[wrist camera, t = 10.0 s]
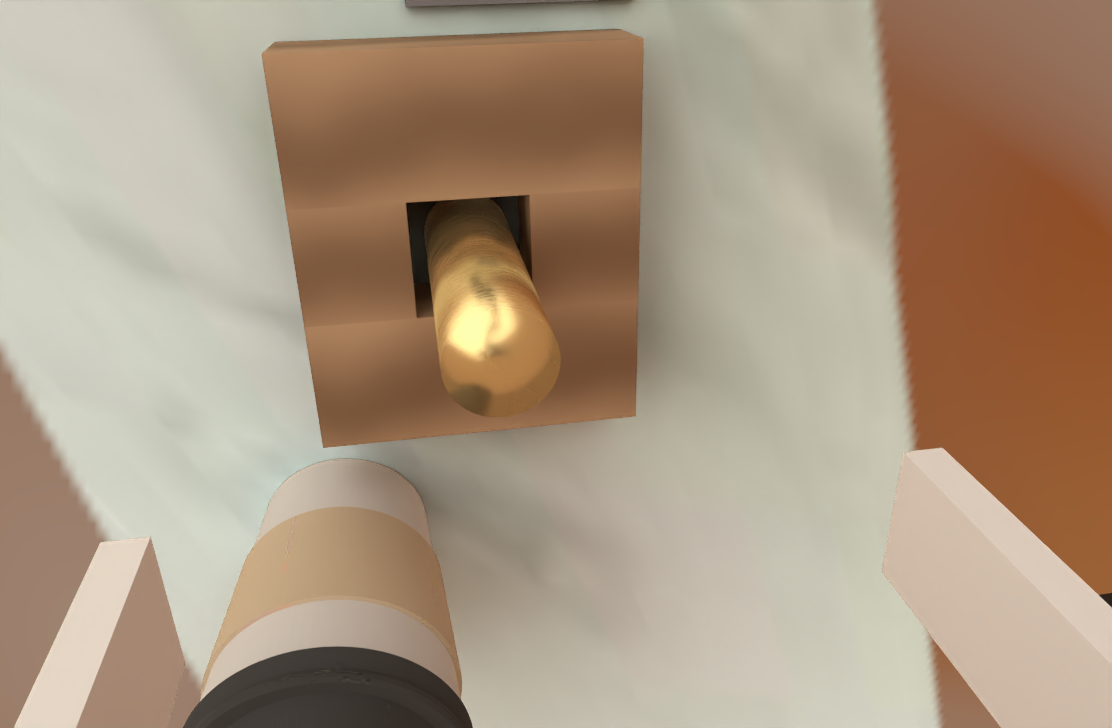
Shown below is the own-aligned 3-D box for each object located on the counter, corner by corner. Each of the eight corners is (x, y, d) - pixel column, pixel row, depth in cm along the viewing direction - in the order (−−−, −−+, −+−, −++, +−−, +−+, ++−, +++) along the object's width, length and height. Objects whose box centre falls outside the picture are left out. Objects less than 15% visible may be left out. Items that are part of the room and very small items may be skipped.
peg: (420, 193, 33) (435, 313, 23) (505, 188, 34) (559, 303, 23) (427, 274, 35) (445, 423, 24) (509, 267, 35) (561, 411, 24)
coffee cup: (428, 614, 42) (446, 931, 28) (227, 596, 40) (144, 931, 26) (470, 450, 38) (512, 723, 25) (252, 420, 36) (171, 702, 23)
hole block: (274, 41, 30) (261, 53, 27) (618, 28, 32) (643, 38, 29) (329, 404, 36) (323, 447, 33) (615, 377, 38) (635, 415, 35)
